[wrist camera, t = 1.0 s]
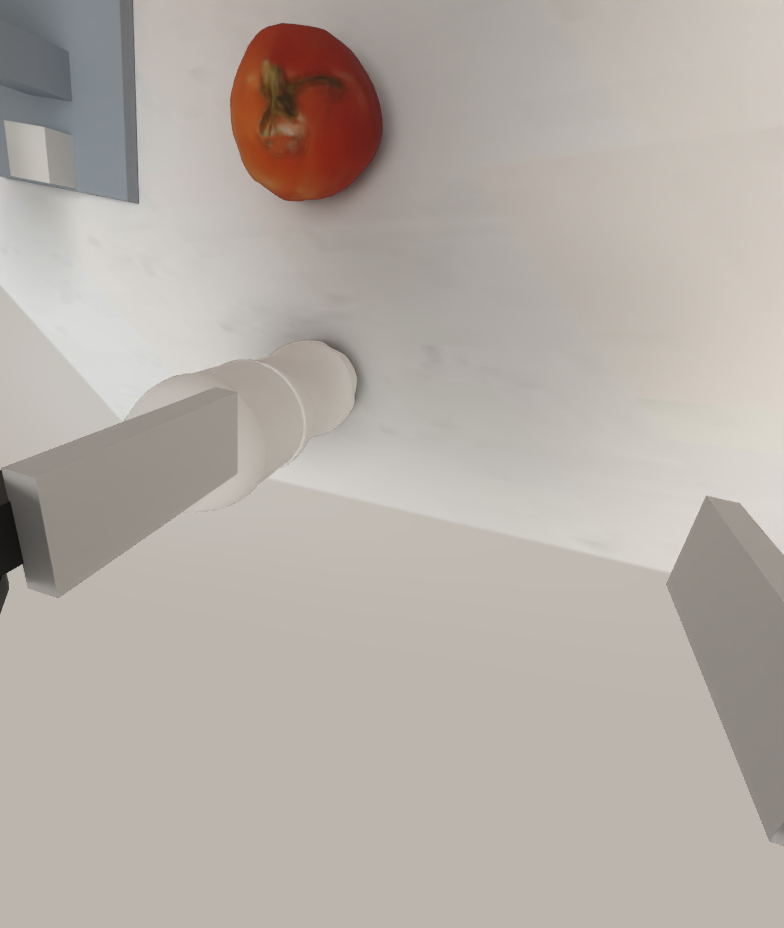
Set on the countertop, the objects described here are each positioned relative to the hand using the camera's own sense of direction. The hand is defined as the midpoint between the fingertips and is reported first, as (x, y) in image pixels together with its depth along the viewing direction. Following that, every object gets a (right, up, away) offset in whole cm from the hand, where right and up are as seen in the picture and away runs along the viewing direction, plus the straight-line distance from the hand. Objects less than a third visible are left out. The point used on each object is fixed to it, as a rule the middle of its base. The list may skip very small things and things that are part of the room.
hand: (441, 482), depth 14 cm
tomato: (-6, +23, +20) cm, 31 cm away
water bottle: (-7, +7, +27) cm, 29 cm away
